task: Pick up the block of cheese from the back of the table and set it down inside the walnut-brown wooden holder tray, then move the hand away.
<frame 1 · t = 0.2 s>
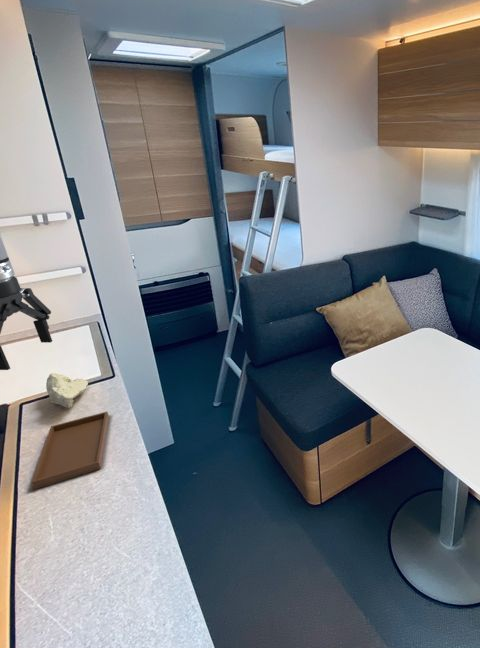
hand: (26, 354, 108), 22 cm above the worktop, tool pointing down, fingers open, 13 cm apart
holder: (75, 449, 106), on the worktop
cheese: (74, 403, 124), on the worktop
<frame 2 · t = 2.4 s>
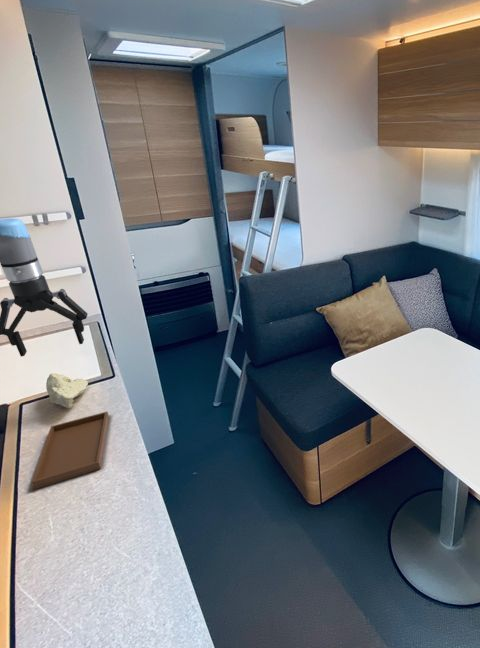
hand: (53, 348, 116), 19 cm above the worktop, tool pointing down, fingers open, 13 cm apart
nothing on the worktop moved.
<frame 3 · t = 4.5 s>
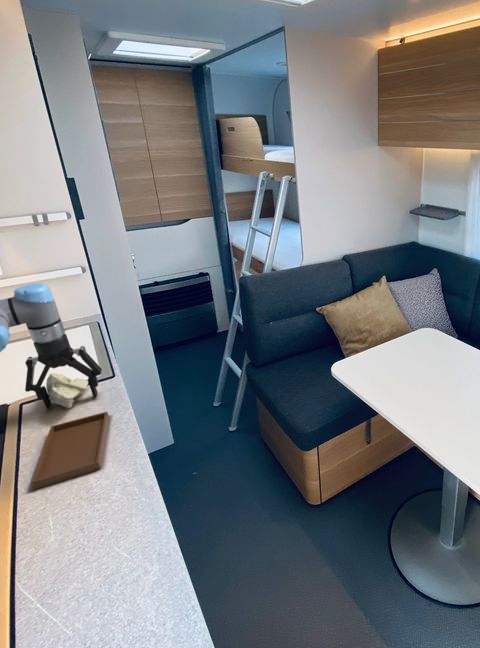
hand: (73, 401, 123), 1 cm above the worktop, tool pointing down, fingers open, 11 cm apart
cheese: (74, 403, 124), on the worktop, touching gripper
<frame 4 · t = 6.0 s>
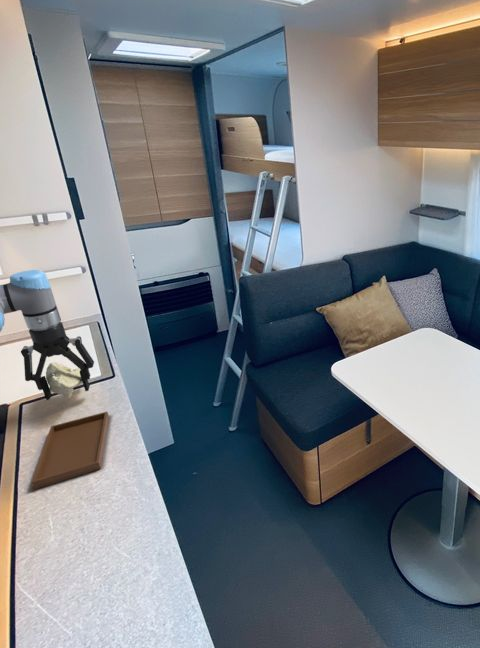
hand: (68, 392, 122), 4 cm above the worktop, tool pointing down, fingers closed on cheese, 9 cm apart
cheese: (73, 392, 123), point 3 cm above the worktop, touching gripper
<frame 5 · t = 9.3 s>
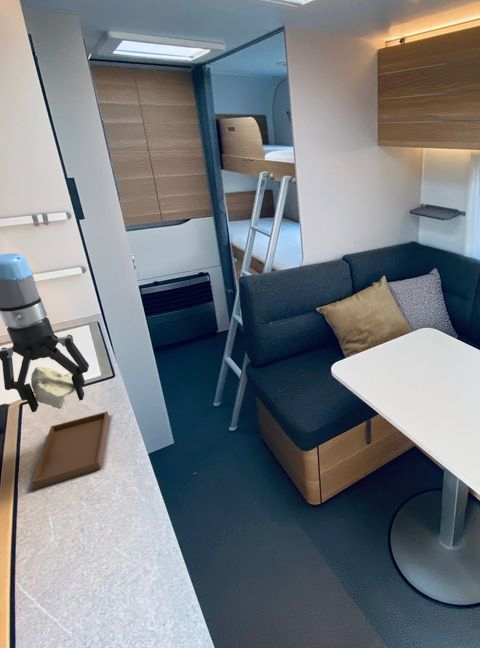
hand: (59, 402, 101), 14 cm above the worktop, tool pointing down, fingers closed on cheese, 9 cm apart
cheese: (65, 402, 102), point 13 cm above the worktop, touching gripper
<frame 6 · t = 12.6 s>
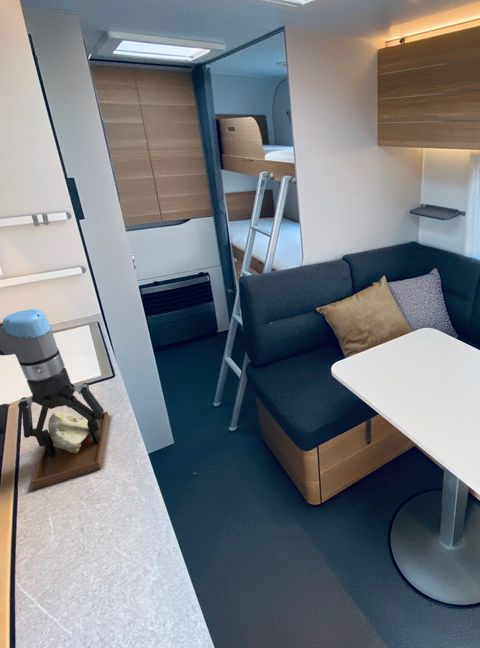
hand: (75, 446, 105), 1 cm above the worktop, tool pointing down, fingers closed on cheese, 9 cm apart
cheese: (81, 446, 106), resting on holder, touching gripper
when the fingers open (2 cm above the worktop, at t = 13.6 s): cheese stays where it is, resting on holder.
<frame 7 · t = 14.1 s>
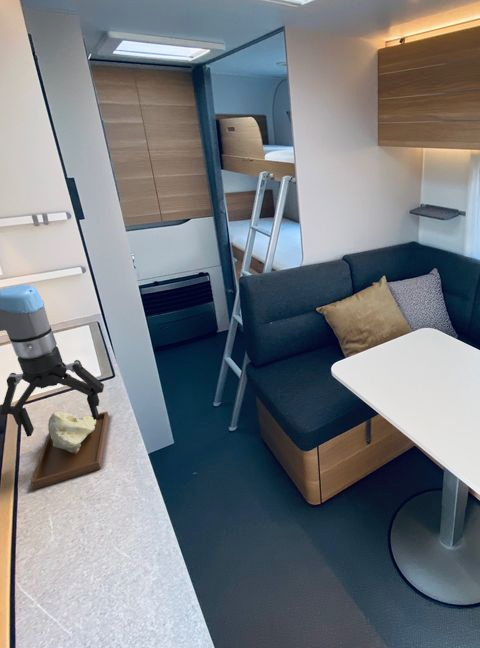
hand: (64, 424, 102), 8 cm above the worktop, tool pointing down, fingers open, 13 cm apart
cheese: (81, 446, 106), resting on holder
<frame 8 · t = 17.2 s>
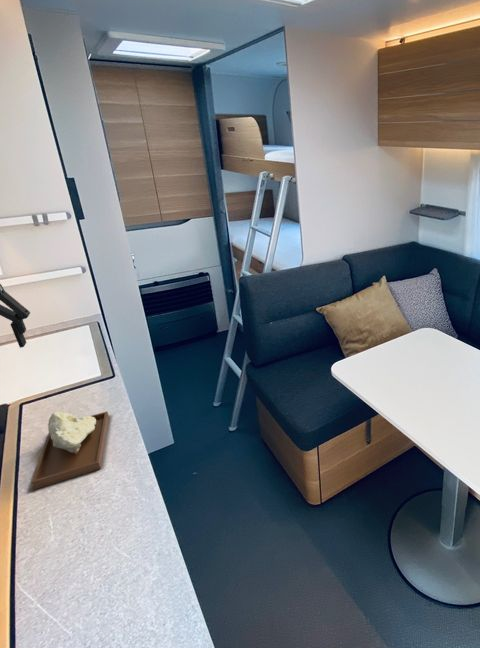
nothing on the worktop moved.
at the end: cheese inside the target area in the holder (1.3 cm from its centre), point 0.4 cm above the holder's base; cheese tilted 0°; the gripper is holding nothing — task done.
